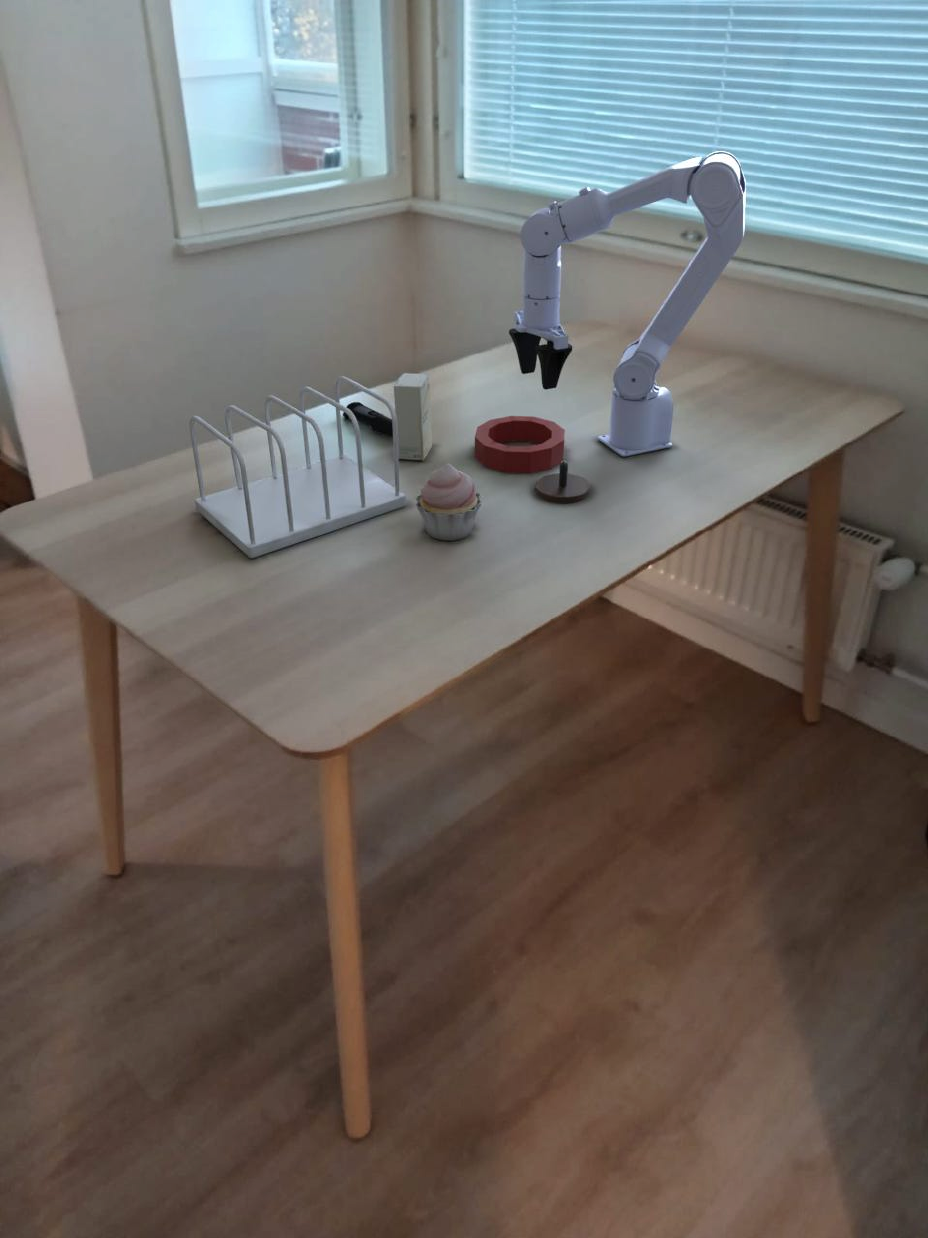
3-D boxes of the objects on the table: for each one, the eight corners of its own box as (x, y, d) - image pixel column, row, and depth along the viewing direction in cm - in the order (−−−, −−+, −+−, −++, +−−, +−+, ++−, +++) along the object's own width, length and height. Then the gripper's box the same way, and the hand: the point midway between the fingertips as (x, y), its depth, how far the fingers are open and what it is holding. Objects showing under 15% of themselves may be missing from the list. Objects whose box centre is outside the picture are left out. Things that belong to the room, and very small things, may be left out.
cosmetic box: (423, 461, 150) (421, 387, 143) (396, 459, 151) (392, 385, 144) (432, 445, 155) (430, 373, 149) (406, 443, 156) (403, 371, 149)
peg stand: (573, 475, 146) (574, 446, 143) (599, 496, 140) (602, 466, 137) (526, 485, 143) (527, 455, 140) (551, 507, 137) (552, 477, 134)
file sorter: (251, 561, 126) (233, 452, 117) (195, 512, 137) (176, 409, 128) (407, 506, 138) (402, 403, 129) (345, 465, 150) (336, 368, 141)
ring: (538, 430, 160) (538, 410, 158) (579, 463, 149) (580, 441, 147) (461, 445, 155) (461, 424, 153) (498, 479, 145) (499, 458, 143)
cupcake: (487, 516, 135) (487, 451, 129) (476, 549, 127) (476, 482, 122) (423, 512, 136) (420, 447, 131) (408, 544, 129) (405, 477, 123)
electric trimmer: (396, 447, 156) (395, 429, 154) (341, 419, 165) (339, 401, 163) (414, 441, 158) (414, 423, 156) (358, 413, 167) (357, 396, 165)
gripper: (497, 285, 150) (496, 369, 157) (540, 310, 139) (537, 399, 146) (537, 280, 152) (534, 363, 160) (582, 304, 141) (577, 392, 149)
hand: (538, 380), depth 153 cm, fingers open, 7 cm apart
